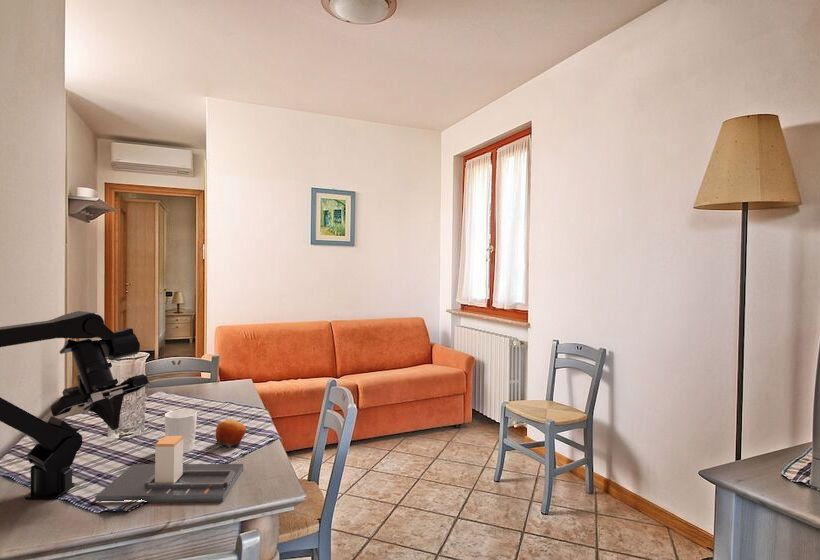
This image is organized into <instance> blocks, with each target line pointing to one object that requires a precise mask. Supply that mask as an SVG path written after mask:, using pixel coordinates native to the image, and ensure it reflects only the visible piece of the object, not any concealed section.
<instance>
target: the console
mask: <svg viewBox="0 0 820 560" xmlns="http://www.w3.org/2000/svg"><path fill="white" fill-rule="evenodd" d="M243 471H244V463H183V475H182V476H181V477H180V478H179V479H178V480H177V481H176V482H175V483H155V463H152V464H151V463H150V464H149V463H148V464H146V463H145V464H143V463H138V464H136V463H135V464H134V463H133V464H132V465H131V466H130V467H128V468H127V469H126V470H125V471H124V472H122V473H121V474H120V475H119V476H118V477H116V478H115V479H114V480H113V481H112V482H111V483H109V484H107V486H105V488H103V489H102V490H101V491H100V492H98V493H97V494H96V495H95V496H94V499H95V500H94V502H95V501H124V500H141V499H142V500H145V501H147V502H153V504H154V503H157V502H158V504H159V503H219V502H220V503H224V501H225V500H226V499H227V496H228V495H229V493H230V492H231V490H232V488H233V486H234V485H235V483H236V482H237V480H238V478H239V477H240V476H241V474H242V473H243Z"/></svg>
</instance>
